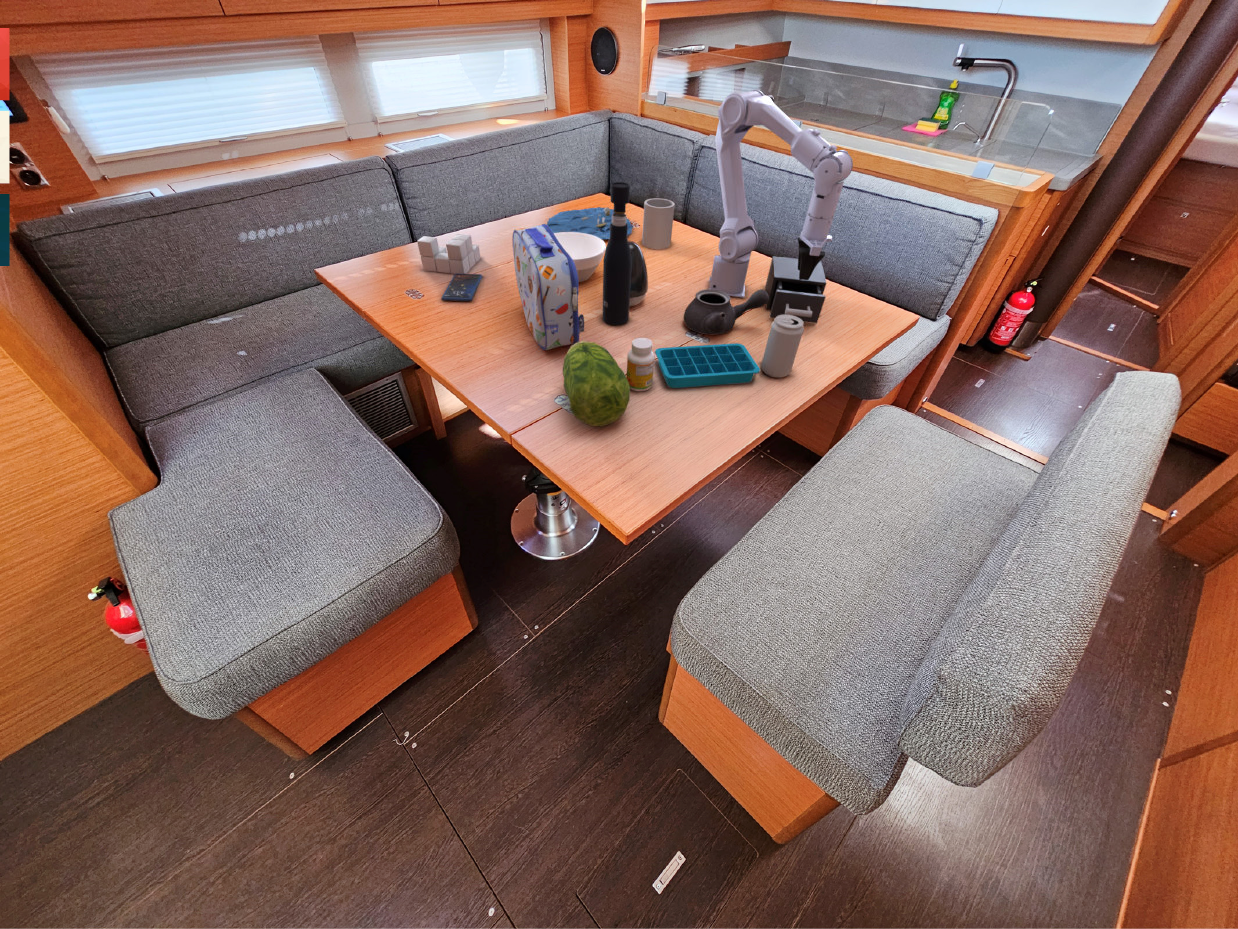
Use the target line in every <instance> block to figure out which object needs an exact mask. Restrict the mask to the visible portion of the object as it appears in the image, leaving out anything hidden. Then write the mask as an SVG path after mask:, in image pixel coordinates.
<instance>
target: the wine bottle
mask: <svg viewBox="0 0 1238 929" xmlns="http://www.w3.org/2000/svg"><path fill="white" fill-rule="evenodd" d="M630 188H631V186H630V183H627V182H624V181H615V182H612V183H611V184H610V203H612V204H613V212H614V214H612V217H611V218H612V220H611V221H612V223H611V224H610V238H609V239H608V241H607V244H606V250H605V252H604V255H603V259H602V260H603V265H602V267H603V269H602V271H603V272H602V317H601V318H602V321H603V323H605V324H606V325H609V326H614V327H617V326H619V327H620V326H624V325H626V324H627V323H628V322H629V320H630V306H629V304H630V286H631V268H632V258H631V251H630V246H629V243H628V241H629V240H628V236H627V230H628V225H627V220H626V219H628V216H627V214H626V212H627V209H626V208H627V206H626V205H628V204H629V203H630V192H631V190H630Z"/></svg>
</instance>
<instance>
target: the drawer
mask: <svg viewBox="0 0 1238 929" xmlns="http://www.w3.org/2000/svg"><path fill="white" fill-rule="evenodd" d="M825 300H826V294H823V295H821V290H820V286H819V285H813V284H804V283H795V282H786V281H776V285H775V289H774V293H773V297H772V309H771V310H770V313H769V318H770V319H775V318H776V317H777V316H779V315H793V316H796V317H798V318H800V319H801V320H802V321H803V323H810V324H818V322H819V319H820V316H821V312H822V309H823V306H824V304H825Z"/></svg>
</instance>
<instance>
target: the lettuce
mask: <svg viewBox="0 0 1238 929" xmlns="http://www.w3.org/2000/svg"><path fill="white" fill-rule="evenodd" d="M626 375H627V374H626V373H625V372H624V371H623V369H622V368H621V367H620V366H619V364H618V362H617V361H616V359H615V358H614V357H613V355H612V354H611V353H610V351H608V350H607V349H606V348H605V347H604V346H602V345H601V344H598V343H597V342H595V341H594V342H593V341H588V340H587V341H586V340H581V341H579V342H577V343H575V344H574V345H571V346H570V347H569V348H568V350H567V353H566V354H565V355H564V358H563V364H562V376H563V388H564V391H565V394H566V396H567V398H568V401H569V409H570V411H571V413H572V415H573V416H574V417H575V419H577V420H578V421H580V422H581V423H583V424H585V425H588V426H591V427H592V426H593V427H604V426H608V425H611V424H613V423H614V422H616V421H618V420H619V419H620V418H621V417H622V416H623V415H624V414H625V412H626V410H627V407H628V405H629V403H630V401H631V400H630V399H631V389H630V387H629V383H628V380H627V378H626Z"/></svg>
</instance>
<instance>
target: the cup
mask: <svg viewBox="0 0 1238 929" xmlns="http://www.w3.org/2000/svg"><path fill="white" fill-rule="evenodd" d="M675 207H676V204H675V202H674V201H672V200H670V199H666V198H658V197H657V198H656V197H655V198H647V199H646V200H645V201H644V202H643V218H642V220H643V221H642V234H641V245H642V246H643V247H644V248H647V249H651V250H667V249H668V248H670V247H671V244H672V234H673V225H674V218H675V217H674V216H675Z"/></svg>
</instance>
